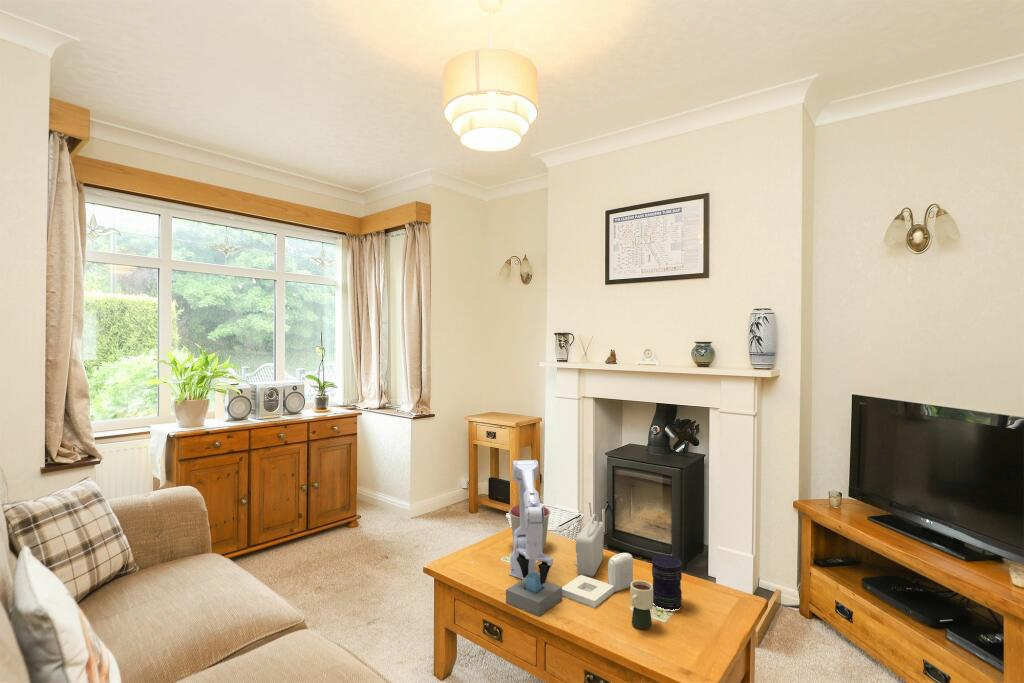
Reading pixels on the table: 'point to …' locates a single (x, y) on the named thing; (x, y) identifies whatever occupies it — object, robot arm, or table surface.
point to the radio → (590, 546)
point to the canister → (516, 522)
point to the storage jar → (667, 582)
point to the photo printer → (620, 571)
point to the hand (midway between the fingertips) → (534, 579)
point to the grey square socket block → (534, 597)
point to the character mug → (641, 603)
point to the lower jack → (587, 591)
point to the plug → (533, 582)
